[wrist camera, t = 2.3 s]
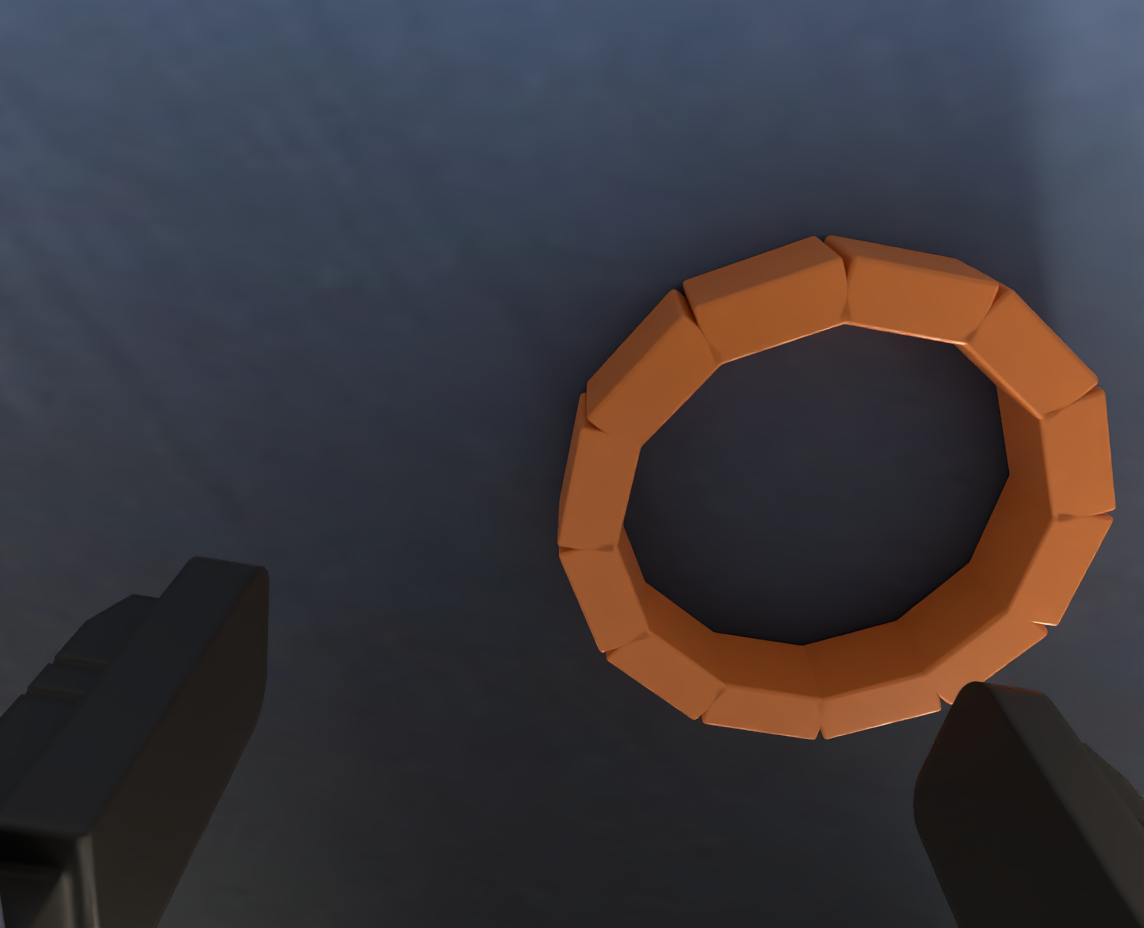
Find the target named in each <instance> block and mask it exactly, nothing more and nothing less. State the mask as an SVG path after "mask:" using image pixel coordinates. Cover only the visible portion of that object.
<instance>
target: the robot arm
mask: <svg viewBox="0 0 1144 928" xmlns="http://www.w3.org/2000/svg"><path fill="white" fill-rule="evenodd" d="M268 615H269V575H268V571H267V569H266V568H265V567H262V566H256V565H249V564H243V563H237V562H230V561H224V560H218V559H211V558H205V557H199V556H195V557H193V558H191V559H190V560H189V561H188V562H187V563H186V564H185V566H184V567H183V568H182V569H181V571H180V572H179V573H178V574H177V576H176V577H175V578H174V580H173V581H172V582H171V583H170V585H169V586H168V587H167V588H166V590H165V591H164V592H163V593H162V595H161V596H160V597H159V598H154V597H148V596H141V595H135V594H132V595H130V596H129V597H127V598H125V599H123V600H122V601H120V602H118V603H116V604H115V605H113V606H111V607H109V608H108V609H106V610H104V611H102V612H101V613H99V614H97V615H95V616H94V617H92V618H90V619H88V620H87V621H86V622H85V623H84V624H83V625H82V626H81V627H80V628H79V629H78V631H77V632H76V633H75V634H74V635H73V636H72V637H71V639H70V640H69V641H68V642H67V643H66V644H65V645H64V646H63V648H62V649H61V650H60V651H59V652H58V653H57V654H56V655H55V659H54V662H53V664H50V663H48V664H47V666H46V667H45V668H44V669H43V670H42V671H41V672H40V673H39V675H38V676H37V677H36V678H35V679H34V680H33V681H32V683H31V684H30V685H29V686H28V691H27V693H26V694H25V695H23V694H21V695H20V696H19V697H18V698H17V699H16V701H15V702H14V703H13V704H12V705H11V706H10V707H9V708H8V710H7V711H6V712H5V713H4V714H3V715H2V716H1V717H0V928H156V927H157V925H158V923H159V921H160V919H161V917H162V915H163V913H164V911H165V909H166V907H167V905H168V903H169V901H170V899H171V897H172V895H173V893H174V891H175V889H176V887H177V885H178V883H179V880H180V878H181V876H182V874H183V872H184V870H185V868H186V866H187V864H188V862H189V860H190V858H191V856H192V854H193V852H194V850H195V848H196V846H197V844H198V842H199V840H200V838H201V836H202V834H203V832H204V830H205V828H206V826H207V824H208V822H209V820H210V818H211V816H212V814H213V812H214V810H215V808H216V806H217V804H218V802H219V800H220V798H221V795H222V793H223V791H224V789H225V787H226V785H227V783H228V781H229V779H230V777H231V775H232V773H233V771H234V769H235V767H236V765H237V763H238V761H239V759H240V757H241V755H242V753H243V751H244V749H245V747H246V745H247V743H248V741H249V739H250V737H251V735H252V732H253V730H254V728H255V725H256V722H257V719H258V717H259V713H260V710H261V706H262V702H263V698H264V693H265V687H266V678H267V650H268ZM913 809H914V818H915V824H916V828H917V831H918V834H919V836H920V839H921V841H922V843H923V846H924V848H925V850H926V853H927V855H928V857H929V860H930V862H931V864H932V867H933V869H934V871H935V874H936V876H937V879H938V881H939V883H940V886H941V888H942V890H943V893H944V895H945V897H946V900H947V902H948V904H949V907H950V909H951V911H952V914H953V916H954V918H955V921H956V923H957V926H958V928H1144V801H1143V800H1142V798H1141V797H1140V796H1139V794H1138V793H1137V792H1136V790H1135V789H1134V788H1133V786H1132V785H1131V784H1130V782H1129V781H1128V780H1127V779H1125V778H1124V777H1123V776H1122V775H1121V774H1120V773H1119V772H1117V771H1116V770H1115V769H1114V768H1113V767H1112V766H1110V765H1109V764H1108V763H1107V762H1106V761H1105V760H1104V759H1102V758H1101V757H1100V756H1099V755H1098V754H1097V753H1096V752H1094V751H1093V750H1092V749H1091V748H1090V747H1089V746H1087V745H1086V744H1085V743H1082V742H1081V741H1080V740H1079V738H1078V737H1077V736H1076V734H1075V733H1074V731H1073V730H1072V729H1071V727H1070V726H1069V724H1068V723H1067V722H1066V720H1065V719H1064V717H1063V716H1062V715H1061V713H1060V712H1059V711H1058V709H1057V708H1056V706H1055V705H1054V704H1053V702H1052V701H1051V700H1050V699H1049V698H1048V697H1047V696H1046V695H1045V694H1044V693H1041V692H1039V691H1035V690H1029V689H1022V688H1016V687H1009V686H1003V685H997V684H990V683H984V682H978V681H973V682H970V683H967V684H966V685H965V686H964V687H963V688H962V689H961V690H960V691H959V693H958V695H957V696H956V698H955V700H954V703H953V705H952V707H951V709H950V711H949V713H948V715H947V717H946V719H945V721H944V723H943V725H942V727H941V729H940V731H939V733H938V735H937V737H936V739H935V742H934V744H933V746H932V748H931V750H930V752H929V754H928V756H927V758H926V760H925V762H924V764H923V766H922V768H921V770H920V772H919V775H918V777H917V780H916V784H915V789H914V798H913Z"/></svg>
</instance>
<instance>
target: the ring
mask: <svg viewBox="0 0 1144 928" xmlns="http://www.w3.org/2000/svg"><path fill="white" fill-rule="evenodd" d="M683 288H684V292H685V295H686V298H687V299H686V298H685V297H684V296H683V295H682V294H681V293H679V292H678V291H677V290H674V289H673V290H671V291H670V292H669V293H668V294H667V295H666V296H665V297H664V298H663V299H662V300H661V301H660V303H659V304H658V305H657V306H656V307H655V308H654V309H653V310H652V311H651V312H650V314H649V315H648V316H647V317H646V318H645V319H644V320H643V321H642V322H641V323H640V325H639V326H638V327H637V328H636V329H635V330H634V331H633V332H632V333H631V334H630V336H629V337H628V338H627V339H626V340H625V341H624V342H623V343H622V344H621V345H620V347H619V348H618V349H617V350H616V351H615V352H614V353H613V354H612V355H611V356H610V358H609V359H608V360H607V361H606V362H605V363H604V364H603V365H602V366H601V367H600V369H599V370H598V371H597V372H596V373H595V374H594V375H593V376H592V377H591V378H590V380H589V381H588V382H587V393H582V394H581V395H580V399H579V404H578V409H577V414H576V419H575V424H574V429H573V434H572V440H571V445H570V450H569V455H568V460H567V465H566V470H565V475H564V480H563V485H562V490H561V495H560V502H559V520H558V539H557V543H558V545H559V558H560V560H561V563H562V565H563V567H564V569H565V572H566V574H567V576H568V579H569V581H570V583H571V586H572V588H573V590H574V593H575V595H576V597H577V600H578V602H579V604H580V607H581V609H582V611H583V614H584V616H585V618H586V621H587V623H588V625H589V628H590V630H591V632H592V634H593V637H594V639H595V641H596V644H597V646H598V648H599V650H600V651H601V652H606V658H607V660H608V661H609V662H610V663H612V664H613V665H615V666H616V667H618V668H619V669H620V670H622V671H623V672H625V673H626V674H628V675H629V676H631V677H632V678H634V679H635V680H636V681H638V682H639V683H641V684H642V685H644V686H645V687H647V688H648V689H649V690H651V691H652V692H654V693H655V694H657V695H658V696H660V697H661V698H662V699H664V700H665V701H667V702H668V703H670V704H671V705H673V706H674V707H675V708H677V709H678V710H680V711H681V712H683V713H684V714H686V715H687V716H689V717H690V718H691V719H693V720H695V719H697V718H698V717H699V716H701V715H702V720H703V722H704V723H705V724H710V725H717V726H723V727H730V728H737V729H744V730H750V731H757V732H764V733H771V734H778V735H784V736H791V737H798V738H805V739H811V740H813V739H815V738H816V737H817V734H818V732H819V730H821V732H822V735H823V737H824V738H825V739H830V738H834V737H838V736H842V735H846V734H850V733H854V732H858V731H862V730H866V729H870V728H874V727H878V726H882V725H886V724H890V723H894V722H898V721H902V720H906V719H910V718H914V717H918V716H922V715H926V714H930V713H934V712H938V711H940V710H941V703H940V698H941V699H943V700H944V701H945V702H947V703H948V704H953V703H954V700H955V698H956V696H957V695H958V693H959V691H960V690H961V689H962V688H963V687H964V686H965V685H966V684H967V683H970V682H973V681H978V682H984V681H985V680H986V679H988V678H989V677H991V676H992V675H993V674H995V673H996V672H997V671H999V670H1000V669H1001V668H1003V667H1004V666H1006V665H1007V664H1008V663H1010V662H1011V661H1012V660H1014V659H1015V658H1016V657H1018V656H1019V655H1021V654H1022V653H1023V652H1025V651H1026V650H1027V649H1029V648H1030V647H1031V646H1033V645H1034V644H1036V643H1037V642H1038V641H1040V640H1041V639H1042V638H1044V637H1045V636H1046V635H1047V634H1048V631H1047V628H1046V627H1045V626H1044V624H1047V625H1053V626H1057V625H1058V624H1059V622H1060V620H1061V618H1062V616H1063V614H1064V612H1065V611H1066V609H1067V607H1068V605H1069V603H1070V601H1071V599H1072V597H1073V595H1074V594H1075V592H1076V590H1077V588H1078V586H1079V584H1080V582H1081V580H1082V579H1083V577H1084V575H1085V573H1086V571H1087V569H1088V567H1089V565H1090V564H1091V562H1092V560H1093V558H1094V556H1095V554H1096V552H1097V550H1098V549H1099V547H1100V545H1101V543H1102V541H1103V539H1104V537H1105V535H1106V533H1107V532H1108V530H1109V528H1110V526H1111V524H1112V522H1113V518H1112V517H1111V516H1110V515H1109V514H1108V513H1107V512H1108V511H1112V510H1114V509H1115V507H1116V505H1115V494H1114V483H1113V472H1112V462H1111V451H1110V440H1109V429H1108V418H1107V407H1106V396H1105V392H1104V390H1103V389H1101V388H1099V387H1098V386H1096V385H1097V384H1098V382H1099V380H1098V377H1097V376H1096V375H1095V374H1094V373H1093V372H1092V371H1091V370H1090V369H1089V368H1088V367H1087V366H1086V365H1085V363H1084V362H1083V361H1082V360H1081V359H1080V358H1079V357H1078V356H1077V355H1076V354H1075V353H1074V352H1073V351H1072V350H1071V349H1070V348H1069V347H1068V346H1067V345H1066V344H1065V343H1064V342H1063V341H1062V340H1061V339H1060V338H1059V337H1058V336H1057V335H1056V334H1055V333H1054V332H1053V330H1052V329H1051V328H1050V327H1049V326H1048V325H1047V324H1046V323H1045V322H1044V321H1043V320H1042V319H1041V318H1040V317H1039V316H1038V315H1037V314H1036V313H1035V312H1034V311H1033V310H1032V309H1031V308H1030V307H1029V306H1028V305H1027V304H1026V303H1025V302H1024V301H1023V300H1022V299H1021V297H1020V296H1019V295H1018V294H1017V293H1016V292H1015V291H1014V290H1012V289H1011V288H1009V287H1007V286H1005V285H1003V284H1002V283H1000V282H998V281H996V280H994V279H993V278H991V277H989V276H987V275H985V274H984V273H982V272H980V271H978V270H977V269H975V268H973V267H971V266H968V265H966V264H965V263H963V262H961V261H959V260H957V259H956V258H950V257H945V256H940V255H935V254H929V253H924V252H919V251H913V250H908V249H903V248H897V247H892V246H887V245H882V244H876V243H871V242H866V241H860V240H855V239H850V238H844V237H839V236H834V235H830V236H827V237H826V239H825V241H824V243H823V242H822V241H821V240H819V239H818V238H817V237H816V236H811V237H809V238H806V239H803V240H800V241H797V242H794V243H791V244H788V245H785V246H783V247H780V248H777V249H774V250H771V251H768V252H765V253H762V254H760V255H757V256H754V257H751V258H748V259H745V260H742V261H739V262H737V263H734V264H731V265H728V266H725V267H722V268H719V269H716V270H714V271H711V272H708V273H705V274H702V275H699V276H696V277H693V278H691V279H688V280H685V281H684V282H683ZM842 324H846V325H852V326H857V327H863V328H868V329H874V330H879V331H885V332H890V333H896V334H901V335H907V336H912V337H918V338H923V339H929V340H934V341H940V342H946V343H951V344H954V345H955V346H956V347H957V348H958V349H959V350H960V351H961V352H962V353H963V354H964V355H965V356H966V357H967V358H968V359H969V360H970V361H971V362H972V363H973V364H975V365H976V366H977V367H978V368H979V369H980V370H981V371H982V372H983V373H984V374H985V375H986V376H987V377H988V378H989V379H990V380H991V381H992V382H993V383H994V384H995V385H996V387H997V394H998V400H999V407H1000V413H1001V420H1002V427H1003V433H1004V440H1005V446H1006V453H1007V460H1008V466H1009V473H1010V475H1009V477H1008V480H1007V482H1006V484H1005V486H1004V488H1003V490H1002V493H1001V495H1000V497H999V499H998V501H997V504H996V506H995V508H994V510H993V512H992V515H991V517H990V519H989V521H988V523H987V525H986V528H985V530H984V532H983V534H982V536H981V539H980V541H979V543H978V545H977V547H976V550H975V552H974V554H973V556H972V558H971V560H970V562H969V563H968V564H967V565H965V566H964V567H963V568H962V569H960V570H959V571H958V572H957V573H955V574H954V575H953V576H952V577H950V578H949V579H948V580H947V581H945V582H944V583H943V584H942V585H940V586H939V587H938V588H937V589H935V590H934V591H933V592H932V593H930V594H929V595H928V596H927V597H925V598H924V599H923V600H922V601H920V602H919V603H918V604H917V605H915V606H914V607H913V608H912V609H910V610H909V611H908V612H907V613H905V614H904V615H903V616H902V617H900V618H899V619H898V620H896V621H893V622H889V623H886V624H882V625H878V626H875V627H871V628H867V629H863V630H860V631H856V632H852V633H849V634H845V635H841V636H837V637H834V638H830V639H826V640H823V641H819V642H815V643H812V644H808V645H804V646H799V645H793V644H787V643H780V642H774V641H767V640H761V639H754V638H748V637H741V636H735V635H728V634H722V633H716V632H713V631H711V630H710V629H708V628H707V627H706V626H704V625H703V624H702V623H700V622H699V621H698V620H696V619H695V618H694V617H692V616H691V615H689V614H688V613H687V612H685V611H684V610H683V609H681V608H680V607H679V606H677V605H676V604H674V603H673V602H672V601H670V600H669V599H668V598H666V597H665V596H664V595H662V594H661V593H660V592H658V591H657V590H655V589H654V588H653V587H651V586H650V585H649V584H647V583H646V582H645V580H644V578H643V575H642V573H641V570H640V567H639V565H638V562H637V560H636V557H635V554H634V552H633V549H632V547H631V544H630V541H629V539H628V536H627V534H626V531H625V528H624V526H623V521H624V517H625V513H626V509H627V504H628V500H629V496H630V492H631V488H632V483H633V479H634V475H635V471H636V467H637V462H638V458H639V454H640V450H641V447H642V446H643V445H644V444H645V443H646V442H647V441H648V440H649V439H650V438H651V437H652V435H653V434H654V433H655V432H656V431H657V430H658V429H659V428H660V427H661V426H662V425H663V424H664V423H665V422H666V421H667V420H668V419H669V418H670V417H671V416H672V415H673V414H674V413H675V412H676V411H677V410H678V409H679V408H680V407H681V406H682V405H683V404H684V403H685V402H686V401H687V400H688V399H689V398H690V397H691V396H692V394H693V393H694V392H695V391H696V390H697V389H698V388H699V387H700V386H701V385H702V384H703V383H704V382H705V381H706V380H707V379H708V378H709V377H710V376H711V375H712V374H713V373H714V372H715V371H716V370H717V369H718V368H719V367H720V366H721V365H722V364H724V363H727V362H730V361H733V360H736V359H739V358H742V357H745V356H748V355H751V354H754V353H757V352H760V351H763V350H766V349H769V348H773V347H776V346H779V345H782V344H785V343H788V342H791V341H794V340H797V339H800V338H803V337H806V336H809V335H812V334H815V333H818V332H821V331H824V330H827V329H830V328H833V327H836V326H839V325H842ZM939 697H940V698H939Z"/></svg>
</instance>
